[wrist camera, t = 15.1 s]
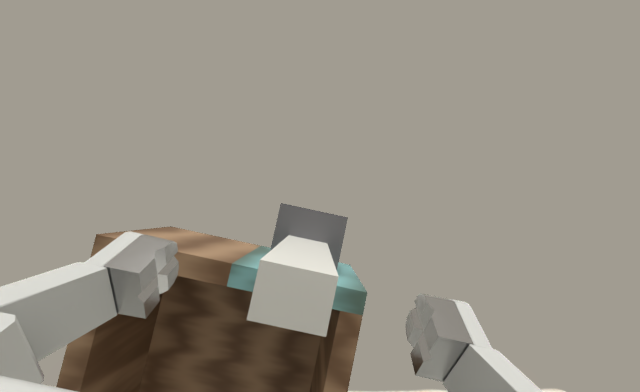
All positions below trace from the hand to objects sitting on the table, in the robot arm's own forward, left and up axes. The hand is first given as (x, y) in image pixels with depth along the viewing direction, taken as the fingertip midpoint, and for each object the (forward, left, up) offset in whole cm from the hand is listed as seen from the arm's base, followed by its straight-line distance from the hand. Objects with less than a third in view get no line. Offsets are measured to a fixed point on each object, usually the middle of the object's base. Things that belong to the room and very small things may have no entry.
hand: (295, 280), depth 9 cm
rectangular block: (0, +14, -4) cm, 15 cm away
